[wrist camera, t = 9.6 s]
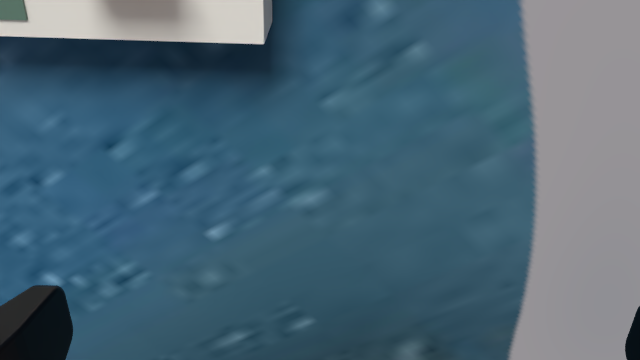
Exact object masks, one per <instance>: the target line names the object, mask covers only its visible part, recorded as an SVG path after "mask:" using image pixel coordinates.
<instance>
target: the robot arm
mask: <svg viewBox="0 0 640 360" xmlns="http://www.w3.org/2000/svg"><path fill="white" fill-rule="evenodd" d="M72 336H73V325H72V320H71V316H70V312H69V308H68V304H67V300H66V296H65V293H64V291H63V289H62V288H61V287H59V286H48V285H36V286H33V287H31V288H29V289H27V290H26V291H24V292H23V293H21V294H19V295H18V296H16V297H15V298H13V299H11V300H10V301H8V302H7V303H5V304H3V305H2V306H0V360H65V359H66V356H67V353H68V350H69V347H70V344H71V340H72ZM625 352H626V358H627V360H640V306H639V307H638V309H637V312H636V314H635V317H634V320H633V323H632V326H631V328H630V331H629V334H628V337H627V340H626V344H625Z"/></svg>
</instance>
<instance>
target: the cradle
mask: <svg viewBox="0 0 640 360" xmlns="http://www.w3.org/2000/svg"><path fill="white" fill-rule="evenodd" d="M271 24H272V0H0V36H12V37H45V38H77V39H109V40H142V41H174V42H206V43H239V44H264V43H265V40H266V38H267V35H268V32H269V29H270V26H271Z"/></svg>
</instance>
